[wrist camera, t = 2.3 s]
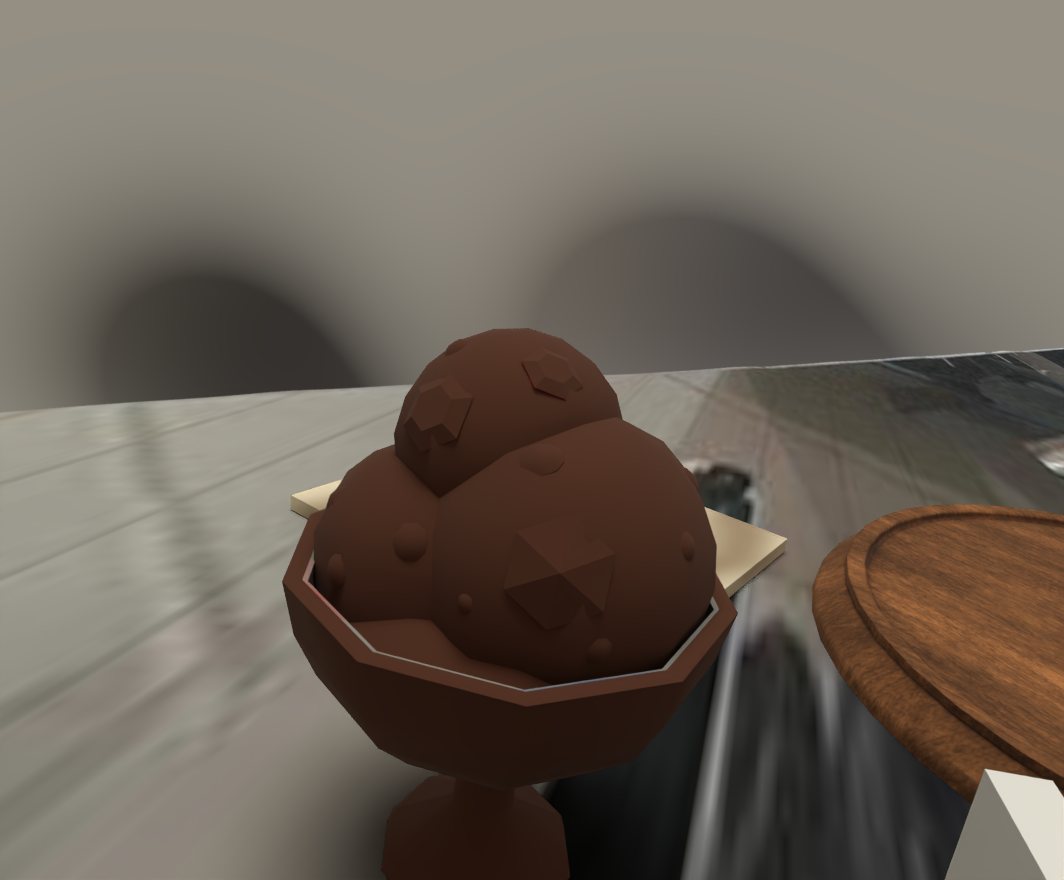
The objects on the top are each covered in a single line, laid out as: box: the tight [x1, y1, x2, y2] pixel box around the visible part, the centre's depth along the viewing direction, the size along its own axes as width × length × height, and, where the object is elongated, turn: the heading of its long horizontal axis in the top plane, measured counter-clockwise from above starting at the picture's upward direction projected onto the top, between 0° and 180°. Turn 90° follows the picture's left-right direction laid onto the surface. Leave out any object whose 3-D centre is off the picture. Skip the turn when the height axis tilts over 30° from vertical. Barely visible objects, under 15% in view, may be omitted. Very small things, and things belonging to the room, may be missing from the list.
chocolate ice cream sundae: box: [282, 328, 738, 880], centre depth 21 cm, size 11×11×15 cm
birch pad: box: [291, 480, 787, 597], centre depth 44 cm, size 20×17×1 cm
